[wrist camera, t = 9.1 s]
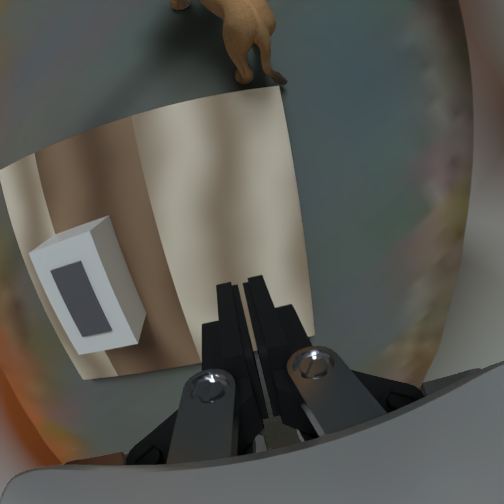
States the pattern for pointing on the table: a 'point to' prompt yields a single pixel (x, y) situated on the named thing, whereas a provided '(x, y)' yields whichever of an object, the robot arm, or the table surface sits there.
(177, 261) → the plywood board
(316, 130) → the table surface
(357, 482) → the robot arm
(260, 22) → the lion figurine
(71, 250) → the block
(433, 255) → the table surface
